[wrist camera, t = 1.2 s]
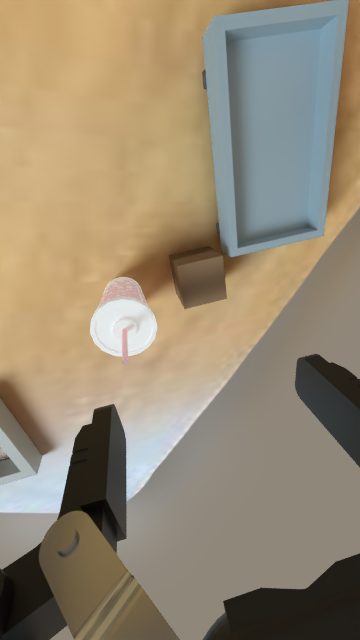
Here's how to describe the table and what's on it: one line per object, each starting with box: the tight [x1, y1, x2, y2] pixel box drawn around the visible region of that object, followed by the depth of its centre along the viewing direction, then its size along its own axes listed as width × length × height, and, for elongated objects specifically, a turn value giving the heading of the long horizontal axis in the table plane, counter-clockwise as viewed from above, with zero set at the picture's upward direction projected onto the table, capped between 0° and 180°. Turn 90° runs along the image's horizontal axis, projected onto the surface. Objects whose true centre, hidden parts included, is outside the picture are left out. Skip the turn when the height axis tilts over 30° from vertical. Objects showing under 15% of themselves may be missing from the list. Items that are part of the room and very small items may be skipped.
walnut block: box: [169, 247, 227, 309], centre depth 30 cm, size 5×5×5 cm
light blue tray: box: [202, 0, 349, 257], centre depth 25 cm, size 18×11×4 cm, turn 10°
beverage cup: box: [90, 277, 157, 364], centre depth 25 cm, size 6×6×14 cm
